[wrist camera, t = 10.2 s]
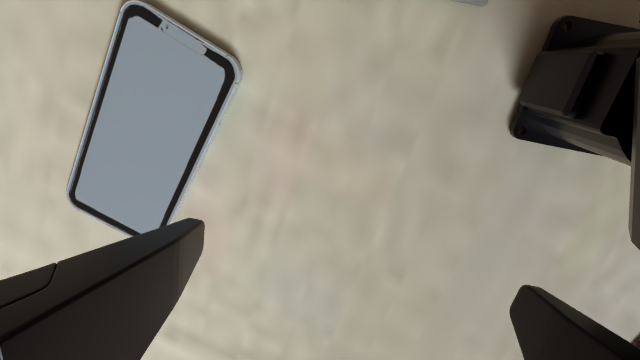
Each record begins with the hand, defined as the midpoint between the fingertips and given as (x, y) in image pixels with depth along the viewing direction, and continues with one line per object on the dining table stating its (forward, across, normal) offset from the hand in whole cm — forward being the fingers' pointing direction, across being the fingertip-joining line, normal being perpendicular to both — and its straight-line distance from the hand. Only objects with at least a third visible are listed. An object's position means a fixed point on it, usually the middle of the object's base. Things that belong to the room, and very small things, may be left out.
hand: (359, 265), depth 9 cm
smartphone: (+13, +13, +2) cm, 18 cm away
